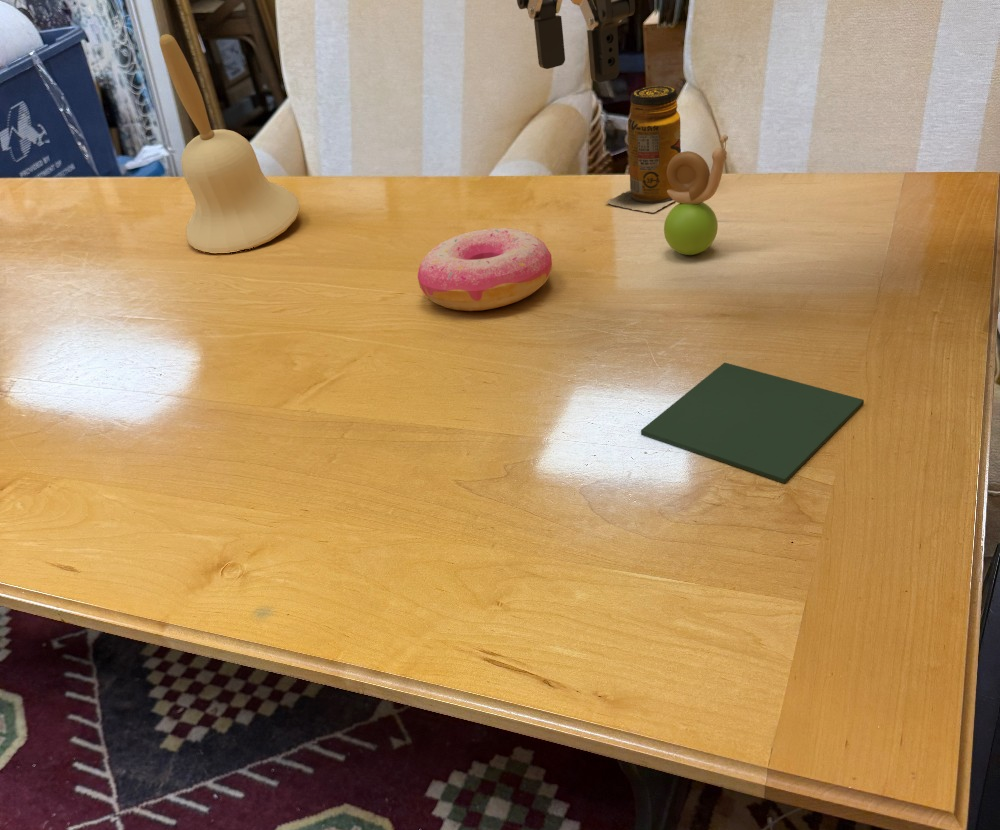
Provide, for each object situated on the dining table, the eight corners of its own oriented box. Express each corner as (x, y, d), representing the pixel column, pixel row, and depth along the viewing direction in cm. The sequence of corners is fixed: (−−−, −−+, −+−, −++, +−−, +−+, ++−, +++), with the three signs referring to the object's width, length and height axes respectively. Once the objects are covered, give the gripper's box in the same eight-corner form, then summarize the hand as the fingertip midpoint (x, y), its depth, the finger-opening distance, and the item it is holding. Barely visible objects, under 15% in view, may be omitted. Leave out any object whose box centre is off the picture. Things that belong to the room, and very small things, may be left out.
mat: (724, 366, 76) (724, 362, 76) (863, 404, 69) (864, 399, 69) (640, 434, 70) (640, 429, 69) (784, 483, 62) (785, 479, 62)
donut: (577, 273, 95) (573, 226, 92) (507, 329, 87) (500, 280, 84) (474, 258, 102) (467, 215, 99) (399, 309, 94) (389, 263, 91)
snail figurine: (715, 266, 92) (716, 145, 85) (656, 260, 95) (652, 142, 88) (734, 246, 95) (736, 127, 88) (676, 240, 99) (674, 125, 91)
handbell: (320, 197, 123) (251, 0, 104) (279, 263, 113) (195, 58, 95) (220, 202, 127) (137, 13, 109) (172, 266, 117) (72, 70, 99)
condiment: (696, 190, 110) (696, 85, 103) (653, 214, 106) (650, 105, 99) (647, 182, 115) (644, 81, 107) (604, 205, 110) (598, 100, 103)
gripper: (658, -189, 60) (666, 73, 70) (554, -173, 71) (573, 52, 80) (560, -171, 58) (582, 97, 68) (467, -157, 69) (498, 72, 78)
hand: (577, 73), depth 74 cm, fingers open, 8 cm apart
